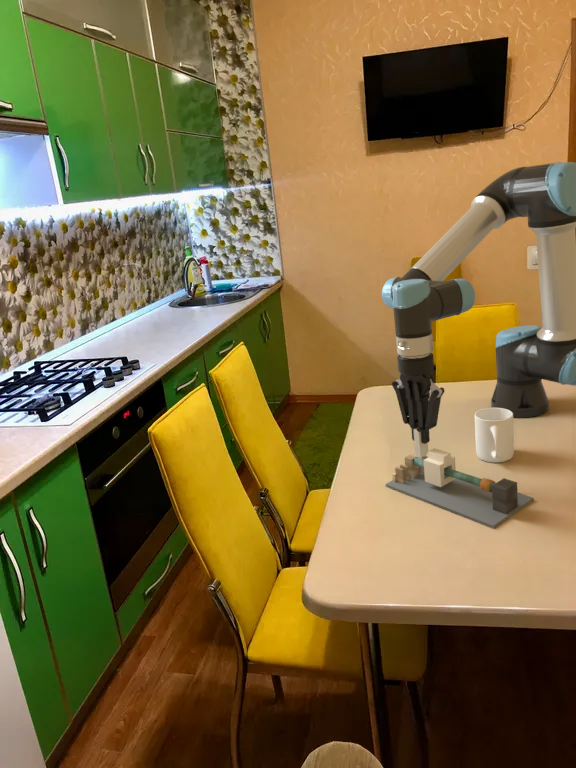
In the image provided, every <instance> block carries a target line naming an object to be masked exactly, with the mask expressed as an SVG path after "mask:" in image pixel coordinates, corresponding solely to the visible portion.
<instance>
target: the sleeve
mask: <svg viewBox="0 0 576 768" xmlns="http://www.w3.org/2000/svg"><path fill="white" fill-rule="evenodd" d="M426 456H428V458H426V459H424V460H423V461H424V475H425V482H428V483H431V484H433V485H436V486H439V487H442V486H444V485H446V484H447V483H449V482H451V481H452V480H454V479H456V478H453V477H450V476H447V475H444V468H449V469H453V470H456V467H457V465H456V456H454V455H452V453H451V452H448V451H445V450H442V449H438V448H435V447H433V448H432V449H431V450H428V452H427V455H426ZM456 471H457V470H456Z"/></svg>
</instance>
